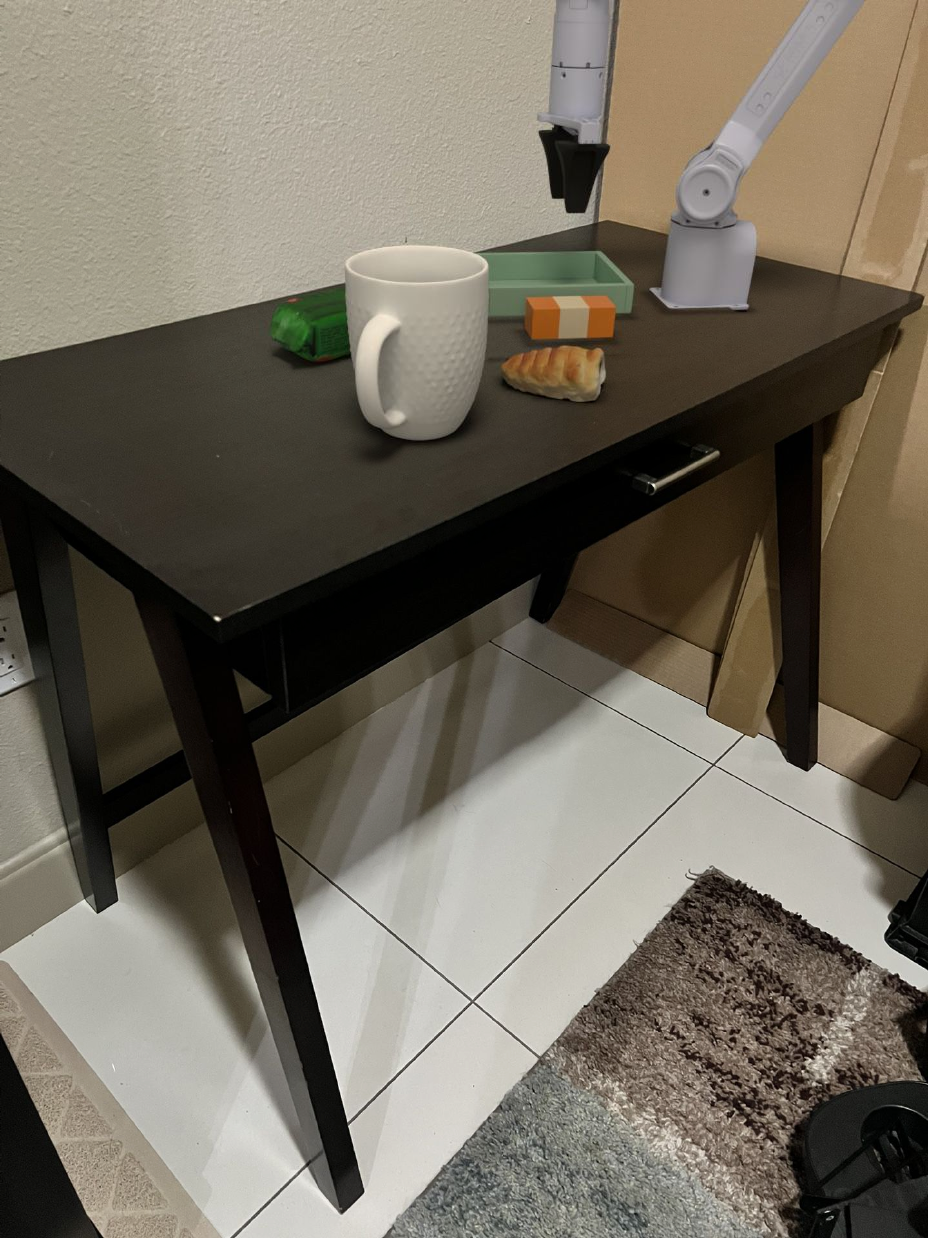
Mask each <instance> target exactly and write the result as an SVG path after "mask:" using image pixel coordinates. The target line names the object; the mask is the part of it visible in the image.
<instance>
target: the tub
mask: <svg viewBox="0 0 928 1238" xmlns="http://www.w3.org/2000/svg"><path fill="white" fill-rule="evenodd" d="M474 253H475V254H477V255H479V256H481V257H483V258H484V259H485V260H486V261H487V263H488V266H489V291H488V293H489V299H488V302H489V304H488V318H491V317H525V308H526V298H527V297H557V296H607V297H608V298H609V300H610V301H611V302H612V303H613V304H614V305H615V306H616V313H615V314H631V313H632V311H633V310H632V309H633V301H634V292H635V284H634V283H633V282H632V281H631V280H630V279H629V278H628V276H627V275H625V274H624V273H623V272H622V270H620V268H618V266H617V265H616V264H615V263H614V262H613V261H611V259H610V258H608V257H607V256H606V254H605V253H603V252H602V251H601V250H586V251H585V250H580V251H578V250H577V251H525V252H524V251H522V252H521V251H520V252H519V251H518V252H474Z"/></svg>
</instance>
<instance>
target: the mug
mask: <svg viewBox="0 0 928 1238" xmlns="http://www.w3.org/2000/svg"><path fill="white" fill-rule="evenodd" d="M475 253H476V252H471V251H469V250H464V249H460V248H455V247H448V246H438V245H422V244H421V245H420V244H419V245H418V244H417V245H415V244H414V245H412V244H411V245H410V244H409V245H408V244H406V245H392V246H384V247H377V248H371V249H367V250H363V251H361V252H357V253H356V254H353V255H351V256H350V257H348V258H347V259H346V260H345V262H344V281H345V282H344V283H345V287H346V294H345V297H346V305H347V306H346V307H347V313H346V314H347V318H348V319H347V323H348V333H349V341H350V351H351V354H350V357H351V361H352V367H353V370H354V374H355V377H354V378H355V390H356V396H357V400H358V404H359V407H360V410H361V412H362V415H363V417H364V418H365V419H366V421H367V422H368V423H369V424H371V425H372V426H373V427H375V428H379V429H381V430H382V431H383V432H384V433H385V434H388V435H389V436H392V437H394V438H399V439H402V440H408V441H430V440H431V441H432V440H437V439H441V438H444V437H447V436H449V435H451V434H453V433H454V432H455V431H456V430H458V428H459V427H460V426H461V425H462V424H463V422H464V420H465V419H466V417H467V415H468V414H469V411H470V410H471V408H472V406H473V404H474V402H475V399H476V395H477V393H478V391H479V387H480V383H481V379H482V376H483V369H484V366H485V360H486V352H487V351H486V350H487V343H488V341H487V339H488V337H487V336H488V333H489V332H488V331H489V330H488V326H489V317H488V304H489V302H488V299H489V293H488V291H489V266H488V263H487V261H486V260H485V259H484V258H483V257H481V256H479V255H477V254H475Z"/></svg>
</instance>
